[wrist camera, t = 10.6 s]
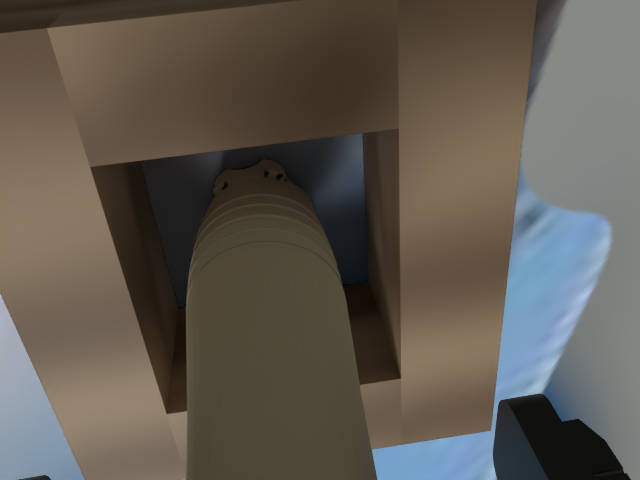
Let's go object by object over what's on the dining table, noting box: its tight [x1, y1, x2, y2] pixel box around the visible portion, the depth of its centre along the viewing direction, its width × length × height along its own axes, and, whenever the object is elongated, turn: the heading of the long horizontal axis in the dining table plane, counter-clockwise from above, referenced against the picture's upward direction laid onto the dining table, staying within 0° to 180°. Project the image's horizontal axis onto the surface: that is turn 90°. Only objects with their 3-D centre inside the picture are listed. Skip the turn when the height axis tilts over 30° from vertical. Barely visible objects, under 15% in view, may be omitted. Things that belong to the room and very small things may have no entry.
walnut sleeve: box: [0, 0, 537, 480], centre depth 18 cm, size 14×13×5 cm
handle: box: [186, 160, 377, 480], centre depth 14 cm, size 5×6×15 cm
